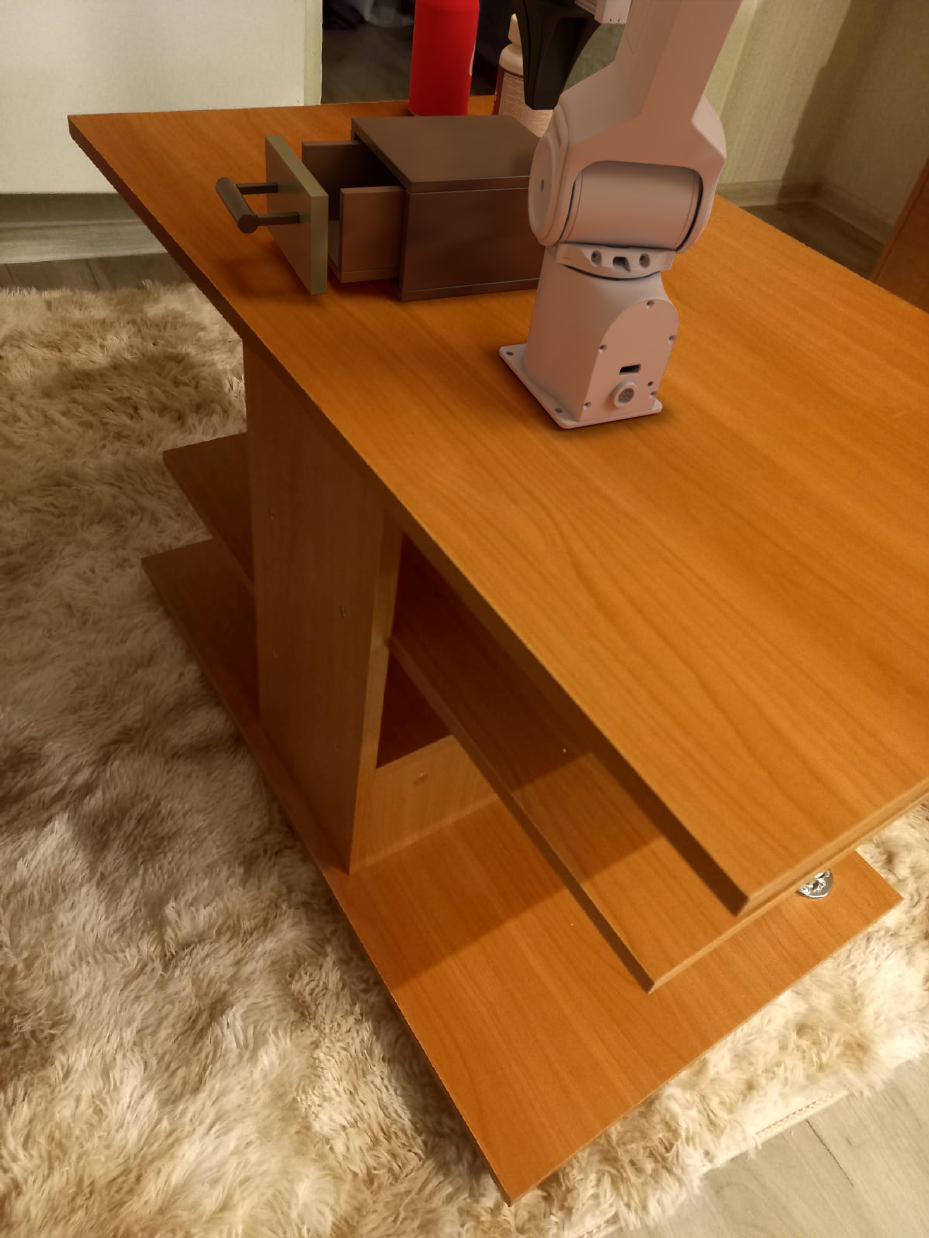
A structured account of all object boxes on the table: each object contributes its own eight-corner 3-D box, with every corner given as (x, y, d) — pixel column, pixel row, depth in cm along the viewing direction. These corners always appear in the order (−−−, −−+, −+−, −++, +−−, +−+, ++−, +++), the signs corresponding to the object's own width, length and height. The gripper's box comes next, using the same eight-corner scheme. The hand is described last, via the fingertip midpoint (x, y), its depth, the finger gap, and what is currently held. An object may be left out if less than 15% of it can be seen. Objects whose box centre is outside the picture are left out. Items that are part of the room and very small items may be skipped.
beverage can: (468, 114, 94) (484, -20, 85) (463, 133, 90) (479, -6, 81) (411, 104, 94) (422, -32, 85) (403, 123, 90) (413, -18, 81)
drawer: (250, 301, 60) (245, 199, 55) (211, 233, 66) (204, 136, 61) (469, 280, 66) (481, 187, 61) (415, 220, 72) (423, 131, 67)
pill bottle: (498, 134, 91) (517, 6, 83) (554, 149, 90) (579, 21, 82) (478, 151, 87) (496, 18, 79) (536, 168, 86) (560, 35, 78)
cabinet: (401, 302, 64) (411, 181, 58) (347, 232, 71) (351, 117, 65) (558, 286, 69) (583, 173, 63) (494, 222, 76) (511, 114, 70)
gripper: (477, -151, 59) (453, 74, 69) (584, -104, 51) (539, 145, 61) (565, -141, 62) (530, 74, 72) (681, -94, 54) (623, 142, 63)
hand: (539, 107), depth 66 cm, fingers closed
